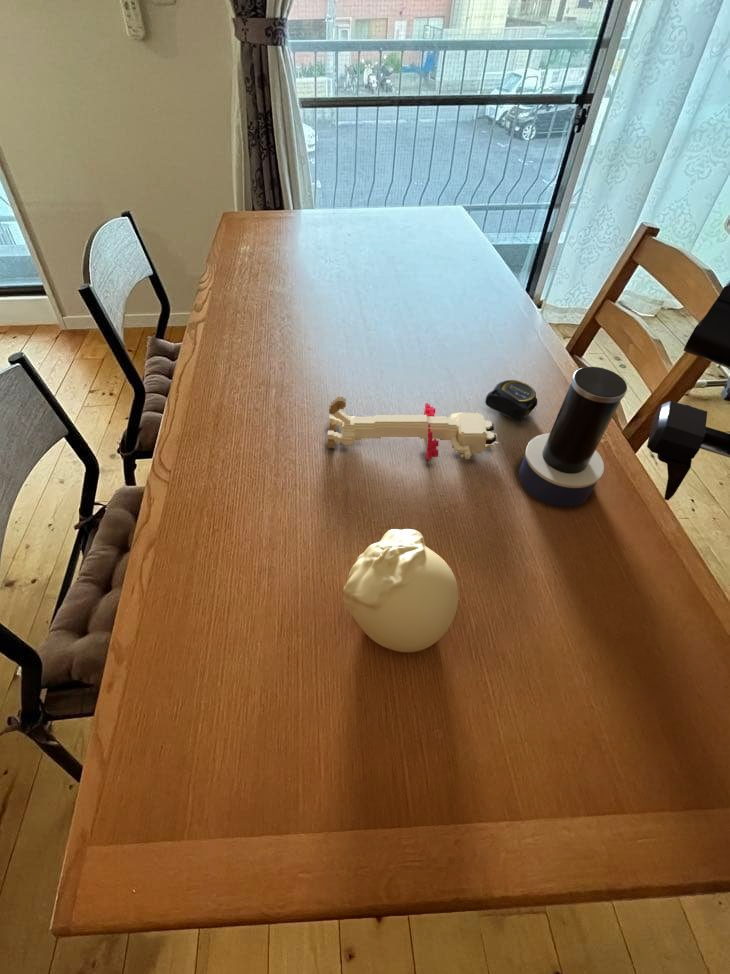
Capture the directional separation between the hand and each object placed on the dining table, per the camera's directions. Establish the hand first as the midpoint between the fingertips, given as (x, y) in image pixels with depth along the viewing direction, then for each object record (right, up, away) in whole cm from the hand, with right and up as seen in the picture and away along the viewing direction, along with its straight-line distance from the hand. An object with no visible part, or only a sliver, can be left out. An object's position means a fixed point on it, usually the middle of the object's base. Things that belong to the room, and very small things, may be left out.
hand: (713, 513), depth 58 cm
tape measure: (-11, +14, +31) cm, 36 cm away
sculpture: (-33, -12, +6) cm, 35 cm away
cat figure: (-28, +9, +26) cm, 39 cm away
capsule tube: (-8, +6, +18) cm, 20 cm away
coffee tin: (-8, +3, +21) cm, 23 cm away
